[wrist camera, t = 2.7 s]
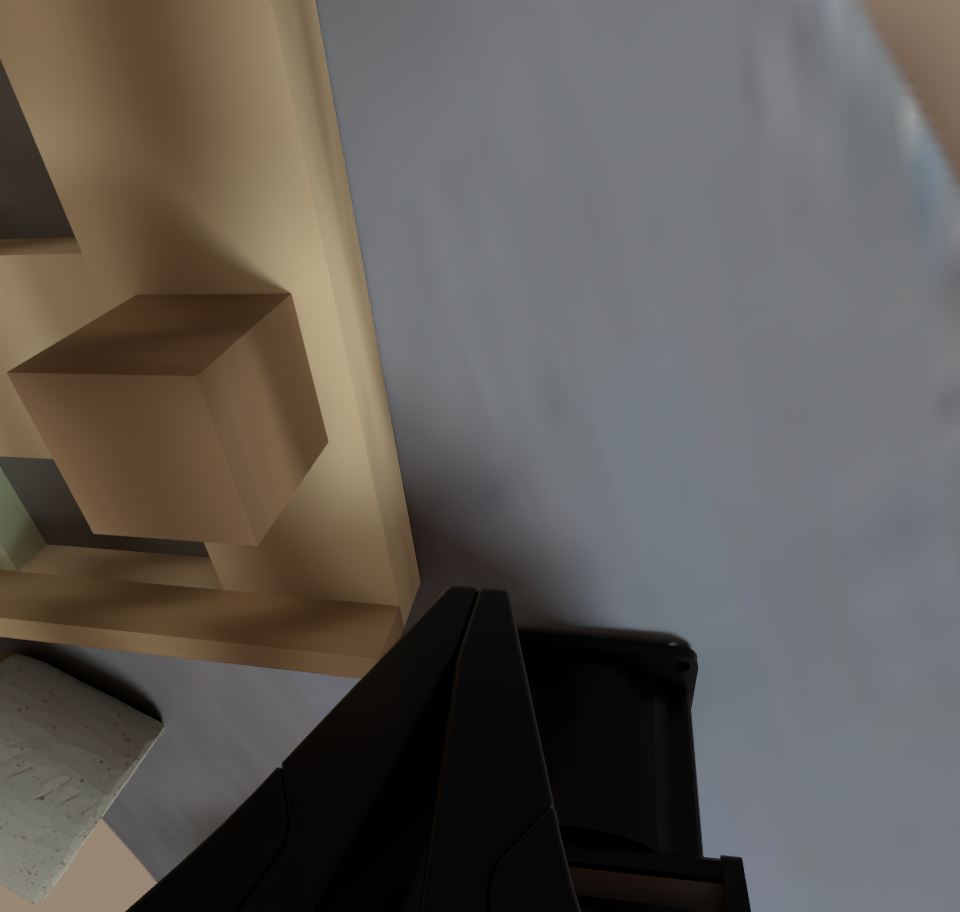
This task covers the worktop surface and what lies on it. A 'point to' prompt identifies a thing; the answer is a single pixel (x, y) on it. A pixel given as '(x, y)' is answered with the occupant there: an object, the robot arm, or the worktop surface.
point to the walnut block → (180, 415)
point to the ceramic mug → (58, 768)
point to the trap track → (192, 270)
